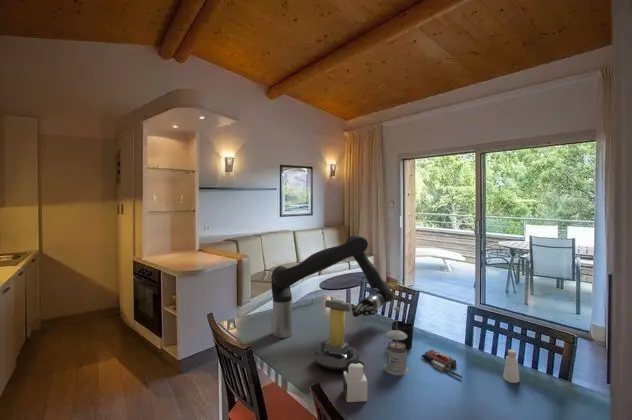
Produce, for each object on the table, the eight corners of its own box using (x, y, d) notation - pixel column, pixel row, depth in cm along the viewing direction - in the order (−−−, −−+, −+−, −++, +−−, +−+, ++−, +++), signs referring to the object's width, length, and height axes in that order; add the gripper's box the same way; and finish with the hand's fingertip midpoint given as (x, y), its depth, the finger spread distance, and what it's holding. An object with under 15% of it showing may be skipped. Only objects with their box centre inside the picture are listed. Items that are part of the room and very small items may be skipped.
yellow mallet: (322, 351, 144) (323, 299, 143) (329, 346, 149) (330, 295, 149) (344, 358, 139) (345, 303, 138) (351, 352, 144) (352, 299, 143)
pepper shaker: (519, 384, 129) (520, 355, 129) (502, 380, 132) (503, 351, 132) (519, 378, 134) (520, 349, 133) (503, 374, 137) (504, 346, 136)
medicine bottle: (343, 390, 126) (343, 357, 125) (362, 389, 126) (363, 356, 125) (346, 402, 118) (346, 367, 118) (367, 401, 119) (367, 367, 118)
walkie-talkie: (417, 360, 149) (460, 381, 132) (418, 349, 148) (460, 370, 132) (431, 354, 154) (474, 375, 137) (431, 344, 153) (474, 364, 137)
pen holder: (396, 351, 156) (397, 329, 155) (388, 342, 165) (388, 321, 164) (416, 349, 158) (417, 327, 157) (406, 340, 167) (407, 319, 166)
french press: (394, 377, 134) (395, 313, 133) (375, 364, 144) (376, 304, 143) (414, 371, 139) (415, 308, 137) (394, 358, 149) (395, 300, 148)
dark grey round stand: (306, 367, 141) (306, 348, 141) (328, 350, 157) (328, 332, 156) (346, 380, 132) (346, 359, 131) (366, 361, 147) (366, 342, 147)
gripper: (358, 294, 177) (341, 303, 163) (383, 299, 170) (368, 309, 155) (357, 309, 178) (341, 319, 163) (382, 314, 171) (368, 325, 156)
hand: (354, 314), depth 159 cm, fingers closed
